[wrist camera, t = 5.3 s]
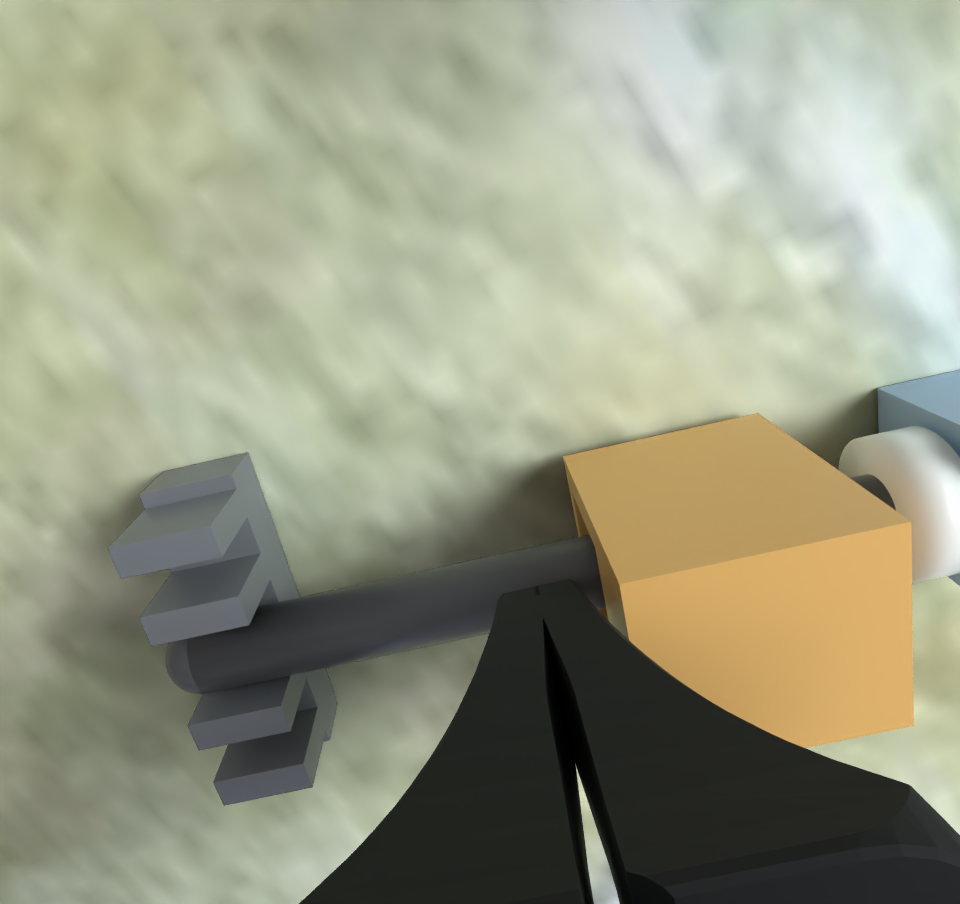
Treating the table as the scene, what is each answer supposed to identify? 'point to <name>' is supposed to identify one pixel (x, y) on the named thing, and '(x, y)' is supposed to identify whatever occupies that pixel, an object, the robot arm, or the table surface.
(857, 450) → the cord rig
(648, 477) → the sleeve
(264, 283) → the table surface
